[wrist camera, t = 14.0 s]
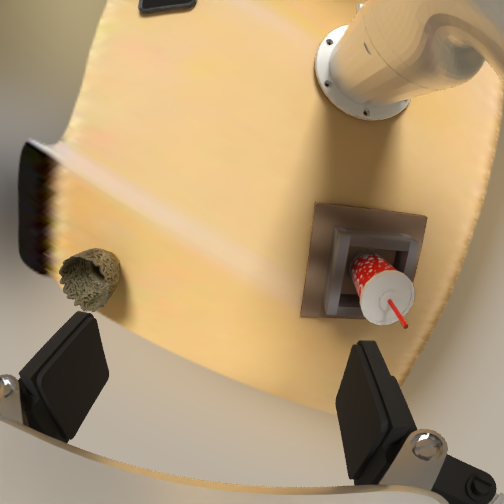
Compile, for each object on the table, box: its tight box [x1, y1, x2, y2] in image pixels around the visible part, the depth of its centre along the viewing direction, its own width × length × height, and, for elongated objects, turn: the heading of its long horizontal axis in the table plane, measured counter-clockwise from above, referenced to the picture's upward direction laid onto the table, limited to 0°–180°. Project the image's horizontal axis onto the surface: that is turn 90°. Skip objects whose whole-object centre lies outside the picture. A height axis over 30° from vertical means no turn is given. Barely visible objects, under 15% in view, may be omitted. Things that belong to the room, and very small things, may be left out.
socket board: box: [301, 202, 427, 319], centre depth 36 cm, size 15×15×4 cm
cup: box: [59, 248, 120, 312], centre depth 37 cm, size 8×7×8 cm
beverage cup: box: [349, 250, 415, 329], centre depth 31 cm, size 6×6×14 cm
